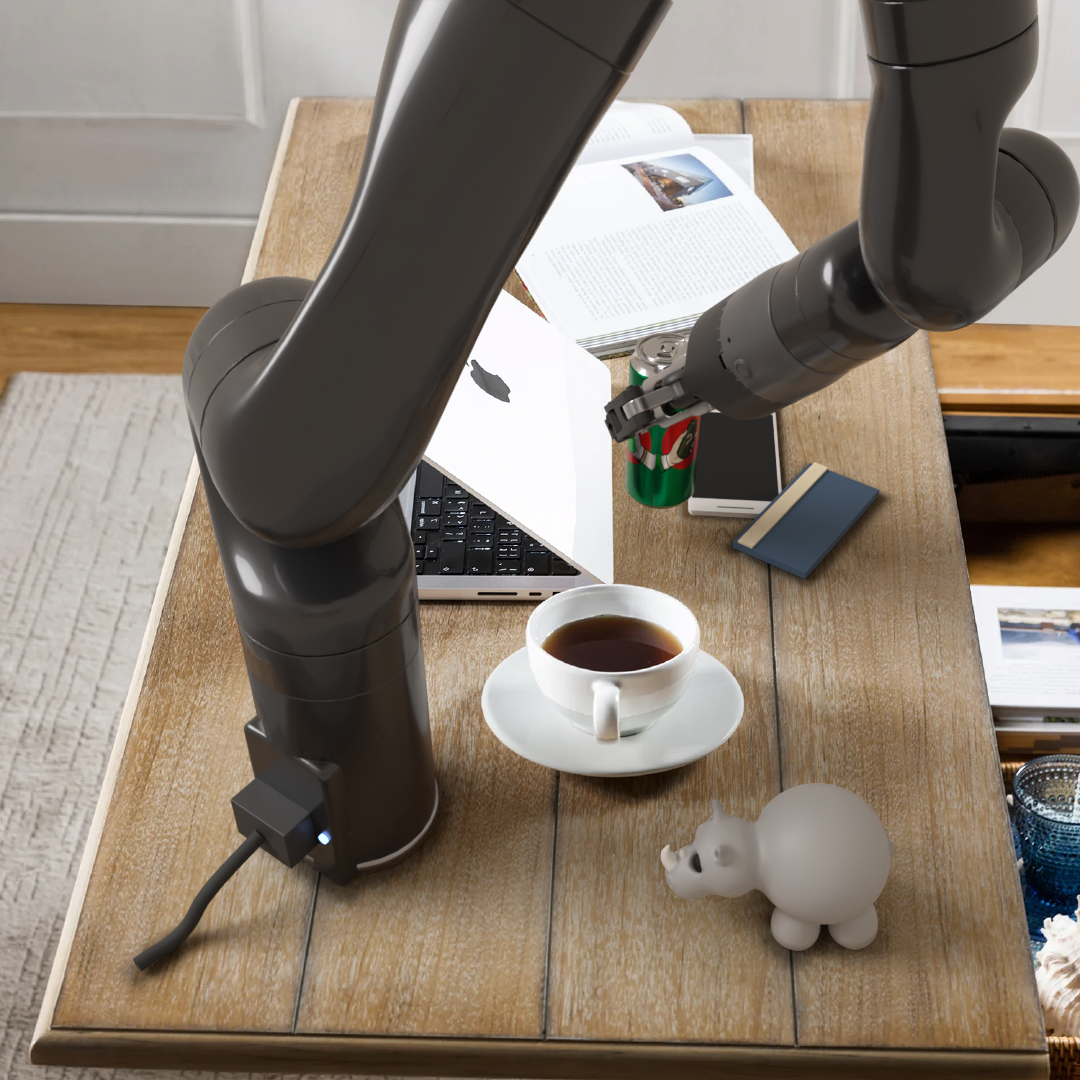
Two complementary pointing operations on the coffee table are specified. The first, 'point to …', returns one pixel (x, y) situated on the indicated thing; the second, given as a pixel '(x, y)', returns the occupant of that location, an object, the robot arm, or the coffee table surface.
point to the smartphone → (736, 466)
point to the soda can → (661, 435)
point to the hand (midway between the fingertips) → (647, 415)
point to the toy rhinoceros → (794, 863)
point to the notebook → (806, 520)
